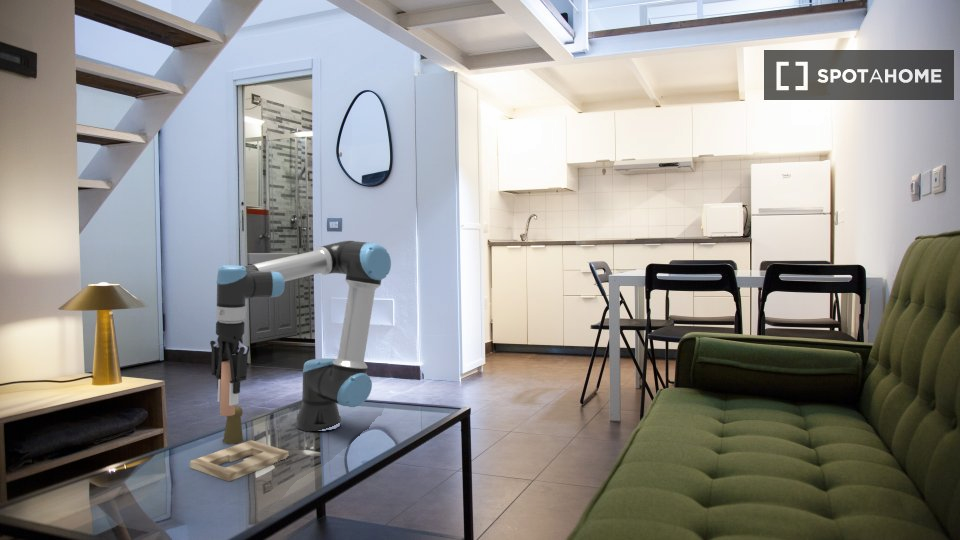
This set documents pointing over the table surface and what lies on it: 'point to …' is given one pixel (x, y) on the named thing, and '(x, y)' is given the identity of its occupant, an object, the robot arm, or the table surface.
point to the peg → (226, 390)
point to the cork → (234, 428)
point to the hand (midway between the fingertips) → (227, 402)
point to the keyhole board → (261, 459)
